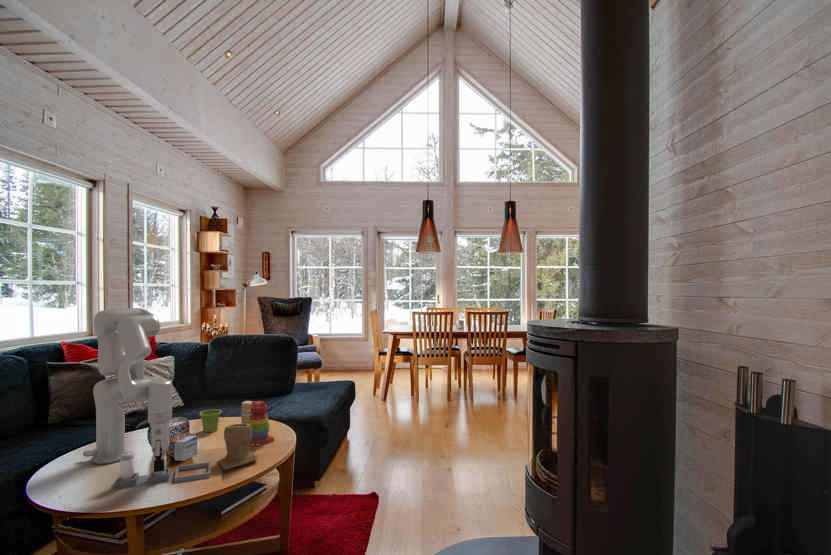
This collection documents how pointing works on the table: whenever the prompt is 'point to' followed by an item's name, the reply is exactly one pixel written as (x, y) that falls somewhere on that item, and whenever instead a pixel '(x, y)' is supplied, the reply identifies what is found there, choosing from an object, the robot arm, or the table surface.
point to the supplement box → (246, 411)
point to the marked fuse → (164, 465)
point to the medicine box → (185, 448)
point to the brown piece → (237, 446)
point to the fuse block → (143, 480)
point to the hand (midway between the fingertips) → (159, 468)
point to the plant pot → (210, 420)
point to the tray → (192, 477)
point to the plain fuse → (127, 466)
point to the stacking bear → (259, 423)
